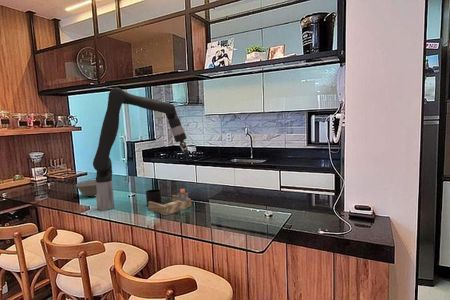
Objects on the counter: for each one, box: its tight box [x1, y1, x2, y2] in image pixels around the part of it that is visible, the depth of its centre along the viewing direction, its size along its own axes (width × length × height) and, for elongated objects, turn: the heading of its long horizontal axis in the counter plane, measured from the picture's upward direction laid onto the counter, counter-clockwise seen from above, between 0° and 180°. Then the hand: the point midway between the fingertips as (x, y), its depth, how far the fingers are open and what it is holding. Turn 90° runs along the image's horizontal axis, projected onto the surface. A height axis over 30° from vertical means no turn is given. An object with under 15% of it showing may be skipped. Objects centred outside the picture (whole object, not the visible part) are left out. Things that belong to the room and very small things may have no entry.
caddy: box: [147, 192, 192, 216], centre depth 175 cm, size 19×17×9 cm
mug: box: [145, 188, 163, 207], centre depth 185 cm, size 9×12×9 cm
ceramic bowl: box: [75, 179, 97, 197], centre depth 216 cm, size 22×23×10 cm
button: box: [179, 188, 186, 194], centre depth 173 cm, size 3×3×4 cm
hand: (187, 157), depth 188 cm, fingers open, 8 cm apart
